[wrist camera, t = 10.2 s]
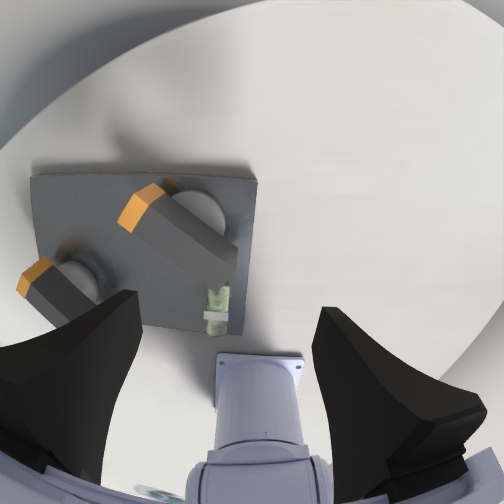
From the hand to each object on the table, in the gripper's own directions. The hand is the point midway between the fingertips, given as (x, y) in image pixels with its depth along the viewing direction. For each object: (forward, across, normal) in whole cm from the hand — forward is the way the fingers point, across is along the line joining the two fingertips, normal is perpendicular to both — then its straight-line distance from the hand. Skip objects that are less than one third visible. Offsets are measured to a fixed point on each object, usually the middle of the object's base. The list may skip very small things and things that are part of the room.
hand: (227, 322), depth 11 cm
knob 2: (+9, +3, -1) cm, 10 cm away
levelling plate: (+10, +8, +2) cm, 13 cm away
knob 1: (+9, +13, +5) cm, 17 cm away
